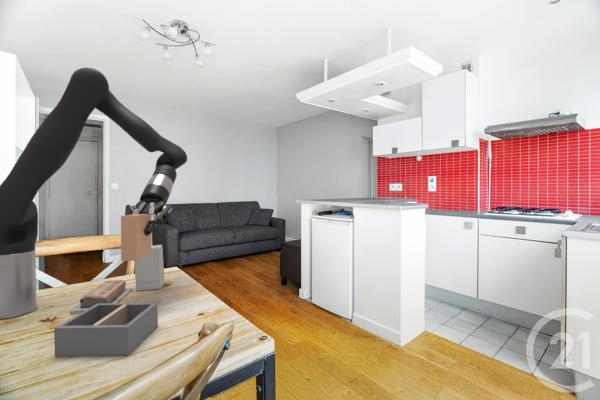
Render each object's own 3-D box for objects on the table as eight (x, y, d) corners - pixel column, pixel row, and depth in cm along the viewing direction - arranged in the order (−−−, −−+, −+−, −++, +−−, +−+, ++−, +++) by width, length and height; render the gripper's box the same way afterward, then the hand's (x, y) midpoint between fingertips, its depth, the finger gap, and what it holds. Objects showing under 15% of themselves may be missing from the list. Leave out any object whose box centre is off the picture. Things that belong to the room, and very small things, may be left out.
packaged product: (100, 279, 96) (132, 278, 98) (100, 293, 96) (132, 291, 98) (68, 299, 79) (108, 296, 81) (68, 316, 79) (108, 313, 81)
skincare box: (164, 284, 105) (164, 244, 105) (160, 289, 99) (159, 247, 99) (139, 285, 103) (139, 245, 103) (134, 291, 97) (133, 248, 97)
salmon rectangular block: (121, 260, 76) (120, 216, 76) (137, 254, 84) (137, 213, 84) (136, 260, 76) (136, 216, 76) (151, 254, 84) (150, 213, 84)
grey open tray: (54, 356, 59) (54, 328, 59) (97, 326, 72) (97, 303, 72) (128, 355, 59) (128, 327, 59) (157, 326, 72) (157, 302, 72)
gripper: (130, 182, 89) (106, 225, 77) (176, 183, 90) (158, 225, 78) (139, 199, 95) (118, 241, 83) (182, 199, 95) (167, 241, 83)
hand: (137, 233), depth 80 cm, fingers closed on salmon rectangular block, 4 cm apart
